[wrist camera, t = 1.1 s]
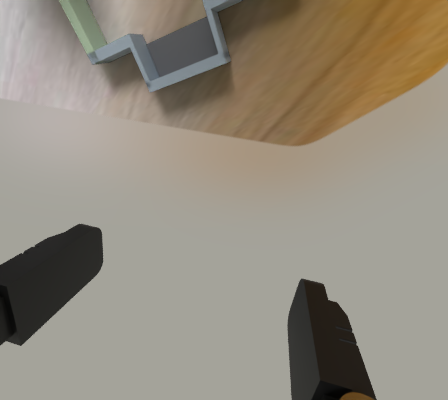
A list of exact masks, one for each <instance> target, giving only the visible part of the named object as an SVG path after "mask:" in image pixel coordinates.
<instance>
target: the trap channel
mask: <svg viewBox="0 0 448 400" xmlns="http://www.w3.org/2000/svg"><path fill="white" fill-rule="evenodd" d="M241 1H243V0H203V4H204V7H205V11H206V14H207V17H205V18H203V19H200V20H198V21H196V22H194V23H192V24H190V25H188V26H185V27H183V28H181V29H179V30H177V31H175V32H172V33H170V34H168V35H166V36H164V37H162V38H159V39H157V40H155V41H153V42H151V43H149V44H146V42H145V39H144V37H143V35H141V34H127V35H125V36H123V37H121V38H119V39H117V40H115V41H113V42H111V43H109V44H107V42H106V40H105V38H104V36H103V34H102V32H101V30H100V28H99V26H98V24H97V22H96V19H95V17H94V15H93V13H92V11H91V9H90V7H89V5H88V3H87V1H86V0H59V2H60V4H61V6H62V8H63V10H64V12H65V13H66V15H67V17H68V19H69V21H70V23H71V25H72V27H73V29H74V31H75V32H76V34H77V36H78V38H79V40H80V42H81V44H82V46H83V48H84V50H85V51H86V53H87V55H88V57H89V59H90V61H91V63H92V65H93V64H102V63H109V62H111V61H113V60H115V59H117V58H120V57H122V56H124V55H126V54H128V53H130V52H132V53H133V55H134V57H135V60H136V62H137V64H138V66H139V69H140V71H141V73H142V75H143V78H144V80H145V82H146V84H147V87H148V89H149V91H150V92H153V91H156V90H158V89H161V88H163V87H166V86H169V85H171V84H174V83H176V82H179V81H182V80H184V79H187V78H189V77H192V76H194V75H197V74H200V73H202V72H205V71H207V70H210V69H213V68H215V67H218V66H220V65H223V64H226V63H228V62H231V59H230V55H229V52H228V48H227V45H226V41H225V38H224V34H223V31H222V27H221V23H220V20H219V16H218V13H217V12H219V11H221V10H223V9H226V8H228V7H230V6H232V5H234V4H236V3H239V2H241Z"/></svg>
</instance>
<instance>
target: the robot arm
mask: <svg viewBox="0 0 448 400" xmlns="http://www.w3.org/2000/svg"><path fill="white" fill-rule="evenodd" d="M102 263H103V246H102V232H101V230H100V229H99V228H97V227H92V226H88V225H84V224H78V225H76V226H74V227H73V228H71V229H69V230H68V231H66V232H64V233H61V234H58V235H55V236H52V237H49V238H47V239H45V240H43V241H41V242H40V243H38V244H36V245H35V247H31V248H29V249H28V250H26V251H24V253H23V254H22V253H21V254H19V255H17V256H15V257H14V258H12V259H10V260H8V261H7V262H5V263H3V264H1V265H0V345H1V344H3V343H4V342H5V341H8V342H11V343H14V344H17V345H20V346H21V345H22V344H24V343H25V342H26V341H27V340H28V339H29V338H30V337H31V336H32V335H33V334H34V333H35V332H36V331H37V330H38V329H39V328H41V326H43V325H44V324H45V323H46V322H47V321H48V320H49V319H50V318H51V317H52V316H53V315H54V314H56V313H57V311H59V310H60V309H61V308H62V307H63V306H64V305H65V304H66V303H67V302H68V301H69V300H70V299H71V298H73V297H74V296H75V295H76V294H77V293H78V292H79V291H80V290H81V289H82V288H83V287H84V286H85V285H86V284H87V283H88V282H90V281H91V280H92V279H93V278H94V277H95V276H96V275H97V274H98V272H99V271H100V269H101V267H102ZM288 343H289V360H290V377H291V395H292V400H377V399H376V397H375V394H374V391H373V388H372V385H371V382H370V379H369V377H368V374H367V371H366V368H365V365H364V362H363V359H362V357H361V354H360V351H359V348H358V346H357V345H356V343H357V342H356V339H355V336H354V334H353V333H352V328H351V325H350V322H349V319H348V316H347V315H346V314H345V312H344V311H343V310H342V308H341V307H340V306H339V304H338V303H337V302H333V301H329V300H328V297H327V294H326V290H325V287H324V284H322V283H318V282H314V281H310V280H306V279H301V280H300V282H299V285H298V287H297V290H296V293H295V297H294V299H293V302H292V305H291V308H290V311H289V316H288Z"/></svg>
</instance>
